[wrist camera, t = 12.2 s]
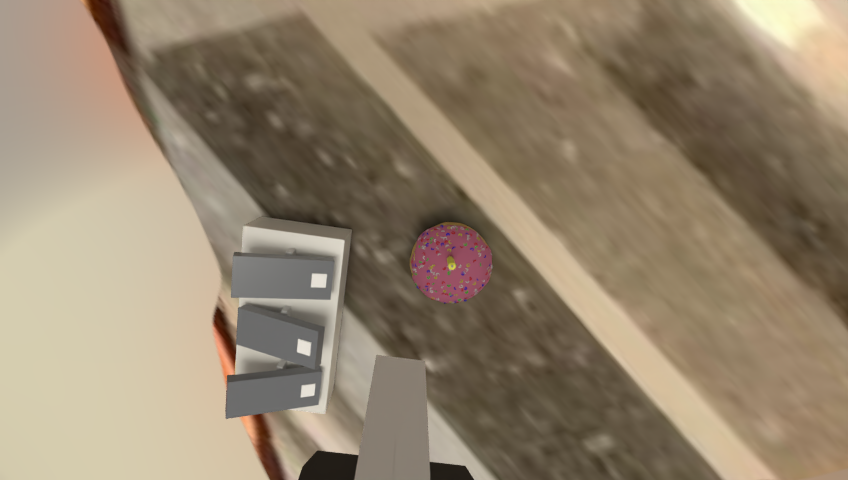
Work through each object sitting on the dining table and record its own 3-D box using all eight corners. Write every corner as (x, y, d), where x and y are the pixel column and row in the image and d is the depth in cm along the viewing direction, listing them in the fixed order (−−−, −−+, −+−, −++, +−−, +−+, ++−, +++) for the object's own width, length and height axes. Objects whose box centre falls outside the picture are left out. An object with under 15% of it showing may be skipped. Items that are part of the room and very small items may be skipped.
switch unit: (258, 216, 46) (234, 228, 40) (352, 229, 47) (342, 243, 41) (248, 377, 51) (225, 410, 45) (333, 387, 51) (322, 422, 45)
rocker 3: (227, 375, 41) (227, 383, 40) (319, 365, 45) (322, 372, 44) (225, 411, 42) (225, 419, 41) (316, 398, 46) (318, 405, 45)
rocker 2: (246, 303, 43) (237, 308, 42) (324, 326, 41) (317, 331, 39) (244, 339, 44) (235, 344, 43) (320, 363, 42) (313, 370, 40)
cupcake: (400, 227, 47) (395, 257, 35) (473, 204, 46) (493, 227, 35) (423, 296, 49) (426, 346, 37) (493, 275, 48) (519, 318, 37)
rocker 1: (234, 252, 39) (232, 256, 38) (333, 257, 42) (334, 261, 41) (232, 292, 40) (230, 297, 39) (329, 295, 43) (330, 300, 42)
